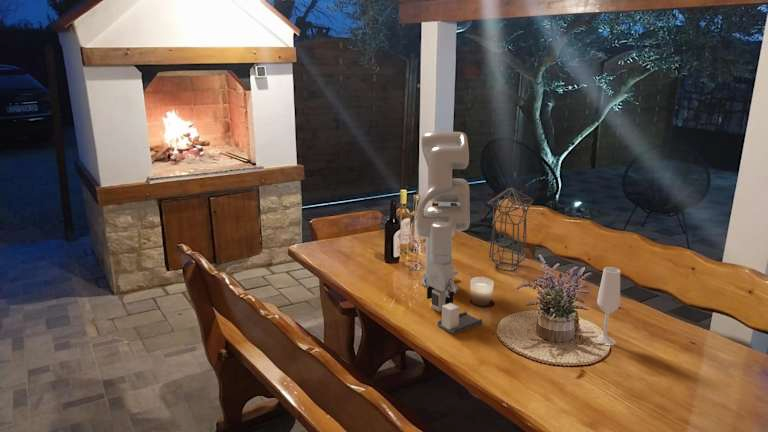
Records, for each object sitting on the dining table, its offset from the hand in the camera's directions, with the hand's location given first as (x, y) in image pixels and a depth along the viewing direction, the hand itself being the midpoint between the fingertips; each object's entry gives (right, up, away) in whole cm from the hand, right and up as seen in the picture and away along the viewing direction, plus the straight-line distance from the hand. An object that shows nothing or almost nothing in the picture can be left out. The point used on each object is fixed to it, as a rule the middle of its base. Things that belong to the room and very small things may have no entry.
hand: (439, 302), depth 207 cm
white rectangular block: (0, -2, +1) cm, 2 cm away
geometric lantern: (+32, +9, +39) cm, 52 cm away
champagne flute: (+50, -9, -24) cm, 56 cm away
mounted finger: (+2, -6, -15) cm, 16 cm away
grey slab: (+6, -6, -12) cm, 15 cm away
